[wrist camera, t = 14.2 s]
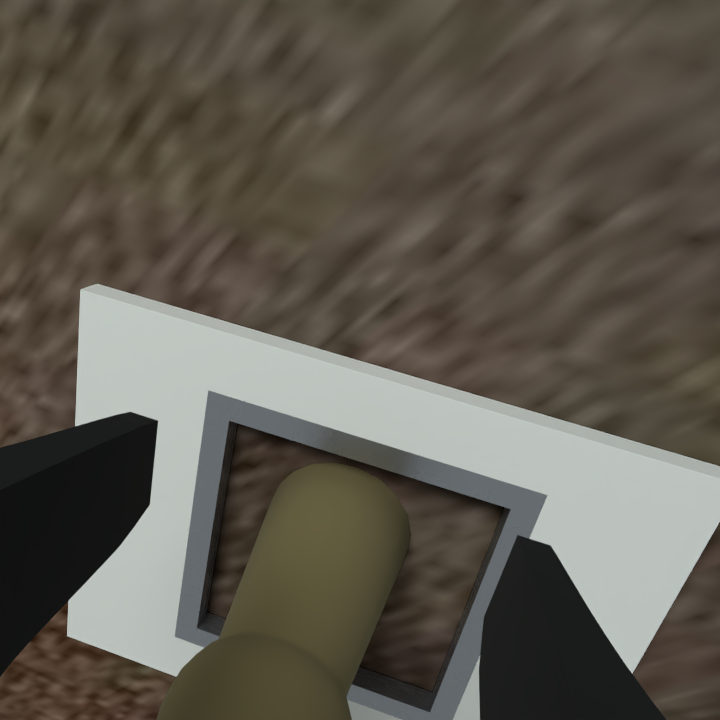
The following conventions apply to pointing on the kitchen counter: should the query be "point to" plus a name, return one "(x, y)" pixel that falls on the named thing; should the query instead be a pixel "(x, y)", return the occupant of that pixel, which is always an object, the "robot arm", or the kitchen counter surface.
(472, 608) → the white picture frame
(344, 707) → the cork
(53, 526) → the robot arm
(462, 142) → the kitchen counter surface
